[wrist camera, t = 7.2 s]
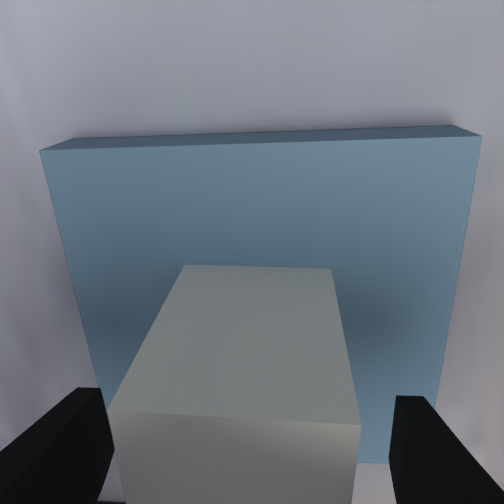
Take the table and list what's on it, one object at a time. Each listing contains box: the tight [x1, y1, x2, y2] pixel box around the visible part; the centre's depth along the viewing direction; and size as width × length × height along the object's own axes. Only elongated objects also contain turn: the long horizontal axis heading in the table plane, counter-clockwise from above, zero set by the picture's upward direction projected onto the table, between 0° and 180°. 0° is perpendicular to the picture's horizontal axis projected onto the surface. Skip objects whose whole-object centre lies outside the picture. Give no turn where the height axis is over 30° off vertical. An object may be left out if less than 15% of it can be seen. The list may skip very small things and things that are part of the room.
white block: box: [107, 264, 361, 504], centre depth 11 cm, size 4×4×6 cm
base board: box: [39, 125, 482, 464], centre depth 15 cm, size 12×12×2 cm
